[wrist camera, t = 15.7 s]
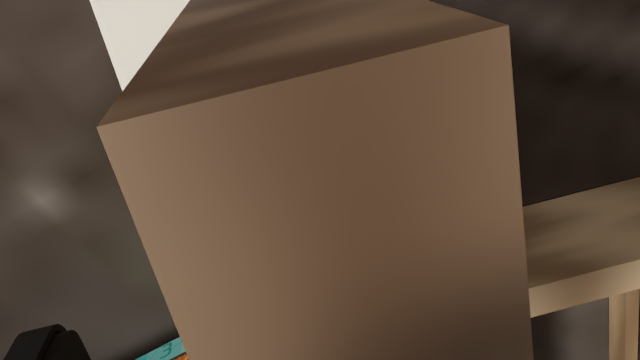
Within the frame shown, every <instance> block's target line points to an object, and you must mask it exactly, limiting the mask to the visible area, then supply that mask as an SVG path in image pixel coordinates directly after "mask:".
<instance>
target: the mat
mask: <svg viewBox="0 0 640 360" xmlns="http://www.w3.org/2000/svg"><path fill="white" fill-rule="evenodd" d="M189 1H190V0H90V3H91V6H92V8H93V11H94V14H95V17H96V19H97V22H98V25H99V28H100V30H101V33H102V36H103V39H104V42H105V44H106V47H107V50H108V53H109V55H110V58H111V61H112V64H113V66H114V69H115V72H116V75H117V78H118V80H119V83H120V86H121V89H122V91H123V90H124V89H125V88H126V86H127V85H128V83H129V82H130V81H131V79H132V78H133V77H134V75H135V74H136V73H137V71H138V70H139V69H140V67H141V66H142V64H143V63H144V62H145V60H146V59H147V58H148V56H149V55H150V54H151V52H152V51H153V50H154V48H155V47H156V46H157V44H158V43H159V41H160V40H161V39H162V37H163V36H164V35H165V33H166V32H167V31H168V29H169V28H170V27H171V25H172V24H173V22H174V21H175V20H176V18H177V17H178V16H179V14H180V13H181V12H182V10H183V9H184V8H185V6H186V5H187V4H188V2H189Z"/></svg>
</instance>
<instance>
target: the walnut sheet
mask: <svg viewBox="0 0 640 360" xmlns="http://www.w3.org/2000/svg"><path fill="white" fill-rule="evenodd" d="M97 130H98V132H99V135H100V137H101V140H102V142H103V145H104V147H105V150H106V153H107V155H108V158H109V160H110V163H111V165H112V168H113V170H114V173H115V175H116V178H117V180H118V183H119V185H120V188H121V190H122V193H123V195H124V198H125V200H126V203H127V205H128V208H129V210H130V213H131V215H132V218H133V220H134V223H135V225H136V228H137V230H138V233H139V235H140V238H141V240H142V243H143V245H144V248H145V250H146V253H147V255H148V258H149V260H150V263H151V265H152V268H153V270H154V273H155V276H156V278H157V281H158V283H159V286H160V288H161V291H162V293H163V296H164V298H165V301H166V303H167V306H168V308H169V311H170V313H171V316H172V318H173V321H174V323H175V326H176V328H177V331H178V333H179V336H180V338H181V341H182V343H183V346H184V348H185V351H186V353H187V356H188V358H189V360H534V355H533V341H532V328H531V315H530V301H529V288H528V274H527V261H526V248H525V234H524V221H523V208H522V194H521V181H520V168H519V154H518V141H517V127H516V114H515V101H514V87H513V74H512V61H511V47H510V34H509V25H508V24H504V23H501V22H498V21H494V20H491V19H488V18H485V17H481V16H478V15H475V14H471V13H468V12H465V11H461V10H458V9H455V8H452V7H448V6H445V5H442V4H438V3H435V2H432V1H428V0H190V1H189V2H188V4H187V5H186V6H185V8H184V9H183V10H182V12H181V13H180V14H179V16H178V17H177V18H176V20H175V21H174V22H173V24H172V25H171V27H170V28H169V29H168V31H167V32H166V33H165V35H164V36H163V37H162V39H161V40H160V41H159V43H158V44H157V46H156V47H155V48H154V50H153V51H152V52H151V54H150V55H149V56H148V58H147V59H146V60H145V62H144V63H143V64H142V66H141V67H140V69H139V70H138V71H137V73H136V74H135V75H134V77H133V78H132V79H131V81H130V82H129V83H128V85H127V86H126V88H125V89H124V90H123V92H122V93H121V94H120V96H119V97H118V98H117V100H116V101H115V102H114V104H113V105H112V106H111V108H110V109H109V111H108V112H107V113H106V115H105V116H104V117H103V119H102V120H101V121H100V123H99V124H98V125H97Z"/></svg>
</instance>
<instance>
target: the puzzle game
mask: <svg viewBox="0 0 640 360" xmlns="http://www.w3.org/2000/svg"><path fill="white" fill-rule="evenodd" d="M135 360H189V358H188V356H187V353H186V351H185V348H184V346H183V343H182V341H181V338H180V337H178V338H176V339H174V340H172V341H170V342H168V343H167V344H165V345H163V346H161V347H159V348H157V349H155V350H153V351H151V352H149V353H147V354H145V355H143V356H141V357H139V358H137V359H135Z"/></svg>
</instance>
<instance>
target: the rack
mask: <svg viewBox="0 0 640 360" xmlns="http://www.w3.org/2000/svg"><path fill="white" fill-rule="evenodd" d="M522 208H523V221H524V234H525V248H526V261H527V274H528V288H529V301H530V315H531V318H532V317H535V316H539V315H543V314H547V313H550V312H554V311H558V310H562V309H565V308H569V307H573V306H577V305H580V304H584V303H588V302H592V301H595V300H599V299H603V298H607V297H609V360H637V356H638V323H639V290H640V177H637V178H633V179H629V180H626V181H622V182H618V183H614V184H610V185H606V186H602V187H598V188H594V189H590V190H587V191H583V192H579V193H575V194H571V195H567V196H563V197H559V198H555V199H552V200H548V201H544V202H540V203H536V204H532V205H528V206H524V207H522Z"/></svg>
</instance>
